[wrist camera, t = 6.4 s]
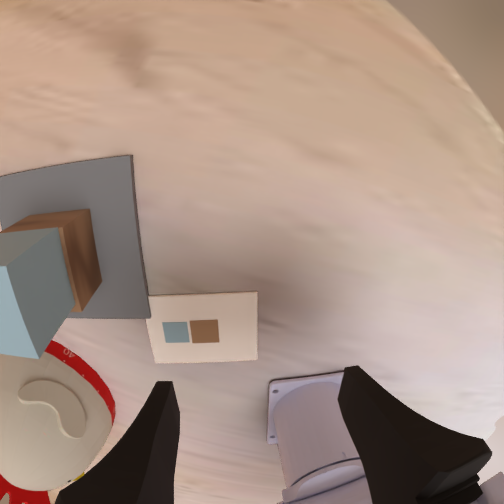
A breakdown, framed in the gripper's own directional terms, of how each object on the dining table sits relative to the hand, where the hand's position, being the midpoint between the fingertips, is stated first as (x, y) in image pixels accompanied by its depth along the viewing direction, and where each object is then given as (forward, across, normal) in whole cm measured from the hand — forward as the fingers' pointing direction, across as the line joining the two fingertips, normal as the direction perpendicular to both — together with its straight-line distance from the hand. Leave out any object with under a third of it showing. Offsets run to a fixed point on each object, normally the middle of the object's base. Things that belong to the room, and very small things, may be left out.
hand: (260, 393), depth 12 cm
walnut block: (+9, +12, -4) cm, 16 cm away
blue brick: (+5, +12, -4) cm, 14 cm away
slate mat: (+10, +12, -4) cm, 16 cm away
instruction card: (+10, +3, +4) cm, 11 cm away
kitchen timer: (+10, +19, +11) cm, 24 cm away
